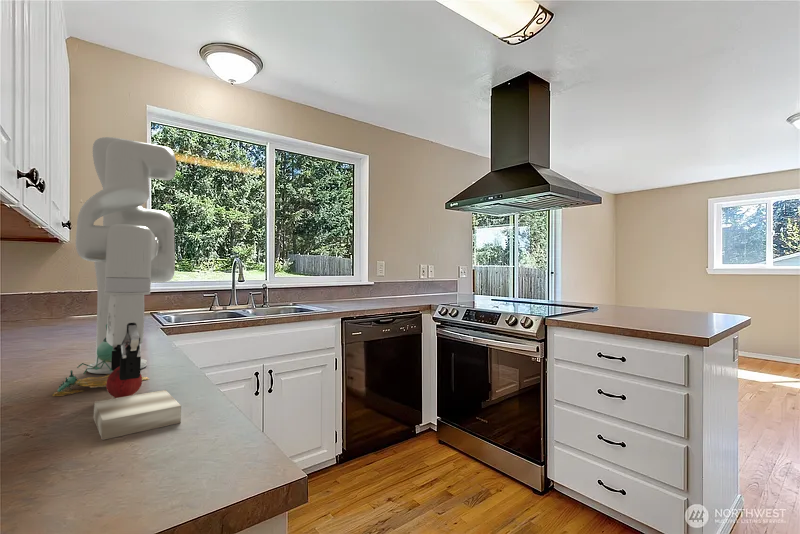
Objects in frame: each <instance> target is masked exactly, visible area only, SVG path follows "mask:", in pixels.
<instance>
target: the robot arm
mask: <svg viewBox="0 0 800 534" xmlns="http://www.w3.org/2000/svg"><path fill="white" fill-rule="evenodd" d="M92 161H93V164H94V169H95V171H96V174H97V175H96V176H97V177H98V179H99V181H100V184H101V187H102V189H101V190H100V191H97V192H96V193H95V194H93V195H92V196H90V198H88V199H87V200H86V201H85V202H84V203H83V204H82V206H81V208H80V210H79V212H78V215H77V219H76V220H77V221H76V230H75V231H76V232H75V250H76V253H77V254H78V257H80V258H81V259H82V260H85V261H87V262H94V271H95V277H96V285H97V289H96V290H97V300H96V301H97V302H96V303H97V305H96V308H97V309H96V311H97V312H96V330H95V331H96V336H95V337H96V338H95V361H94V362H93V363H90V364H89V365H90V366H93V367H94V366H96V363H97V357H98V356H97V348H98V346H99V345H100V344H101V343H102V342H104V341H103V340H104V339H105V338H106V341H107V343H108V344H110V345H111V346H112V347H113V350H116V351H112V361H111V362H106V363H107V365H108V366H109V367H110V368H111V369H112V371H110V369H109V367H108V366H107V365H106V364H105V363H104V364H103V363H101V362H102V360H100V359H99V358H98V363H97V364H99V363H101V364H99V365H98V366H97V367H99V368H101V366H102V364H103V366H102V368H101V369H97V370H95V369H87V368H93V367H89V366H86V369H87V371H86V372H88V373H90V374H96V375H110V374H111V373H112V372H113V371H114V370H115V369H116V368H117V367H119V366H120V373H119V379H120V380H127V379H135V378H139V377H140V373H141V369H144V368H145V367H147V366H148V360H147V359H144V358H142V356H141V352H142V351H141V350H142V343H143V342H144V335H145V334H144V333H145V295H147V296H149V295H151V286H152V285H151V283H152V284H153V283H168V282H170V281H171V280H172V279H173V278H174V276H175V272H176V271H175V269H176V251H175V248H176V247H175V245H176V244H175V223H174V220H173V217H172V216H171V214H170V213H168V212H166V211H164V210H159V209H158V210H157V209H152V208H151V209H149V208H144V207H143V205H144V204H146V203H147V201H148V200H149V198H150V181H149V179H154V180H161V181H172V180H173V179H174V177H175V176H176V172H177V159H176V156H175V153H174V152H173V150H172V148H170V147H167V146H163V145H159V144H154V143H153V144H152V143H147V142H142V141H139V140H138V141H137V140H134V139H133V140H132V139H126V138H120V137H114V136H113V137H110V136H106V137H105V136H104V137H99V138H96V140H94V142H93V145H92ZM101 217H102V225H98V224H97V225H96V224H95V222H96V221H97V220H98V219H100V218H101ZM106 324H107V330H106ZM126 349H127V350H126Z"/></svg>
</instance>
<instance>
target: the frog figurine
mask: <svg viewBox="0 0 800 534" xmlns="http://www.w3.org/2000/svg"><path fill="white" fill-rule="evenodd" d="M106 330H107V324H106ZM103 341H104V342H102V343H101V344H100V345H99V346H98V348H97V356H98V357H97V363H98V358H99V359H100V360H102V362H101V363H103V364H104V363H105V364H106V365H107V363H106V362H111V361H112V351H116V350H113V347H112V346H111V345H110V344H108V343H107V341H106V338H105V339H104V340H103ZM126 350H127V349H126ZM97 363H96V366H94V367H93V366H90V364H85V363H84V362H83V363H80V364H79V365H78V366H76V368H77V369H78V368H80V367H81V366H86V368H85V370H84V371H83V375H85V374H86V372H88V371H87V369H95V370H97V369H101V368H102V366H103V364H102V366H101V368H99V367H97V366H98V365H99V364H101V363H99V364H97ZM87 366H89V367H93V368H87ZM107 366H108V365H107ZM108 367H109V366H108ZM109 369H110V371H112V369H111V368H110V367H109ZM109 376H110V374H106V375H105V376H98V377H96V376H95V377H93V376H92V377H84V378H79V379H78V378H77V376H76V375H74V373H73V370H72V369H70V374H69V376H68V377H65V381H64V380H63V381H62V383H60V385H58V389H57V391H55V392H53V394H52V397H63V396H68V395H72V394H77V393H80V392H81V393H82V392H85V390H84V389H83V390H82V389H73V388H71V387H74V386H78V387H89V388H91V389H95V388H107V387H106V383H107V379H108V377H109ZM147 380H149V377H147V376H142V381H147Z"/></svg>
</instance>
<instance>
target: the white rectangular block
mask: <svg viewBox="0 0 800 534" xmlns="http://www.w3.org/2000/svg"><path fill="white" fill-rule="evenodd" d="M93 420H94V421H93V422H94V424H95V425H96V429H97V431H98V434H99V436H100V438H101V440H102V441H103V440H109V439H113V438H117V437H122V436H127V435H130V434H136V433H140V432H144V431H149V430H154V429H158V428H159V429H160V428H164V427H168V426H172V425H176V424H181V421H182V405H181V404H180V403H179V402H178V401H177V400H176V399H175V398H174V397H173V396H172V395H171V394H170V393H169V392H168V391H167V390H166V389H163V390H157V391H151V392H144V393H139V394H137V393H136V394H133V395H131V396H125V397H119V398H115V397H113V398H108V399H107V398H106V399H102V400H95V401H94V402H93Z"/></svg>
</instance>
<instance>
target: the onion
mask: <svg viewBox="0 0 800 534" xmlns="http://www.w3.org/2000/svg"><path fill="white" fill-rule="evenodd" d="M119 373H120V366H119V367H117V368H116V369H115V370H114V371H113V372H112V373H111V374H109V375H110V376H109V377H108V379H107V383H106V387H105V388H106V391H107V392H108V394H109V395H111V397H113V398H119V397H125V396H131V395H136V394H137V392H138V391H139V390H140V388H141V387H142V383H143V380H142V377H143V376H142V374H141V372H140V377H139V378H135V379H127V380H120V379H119Z"/></svg>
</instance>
